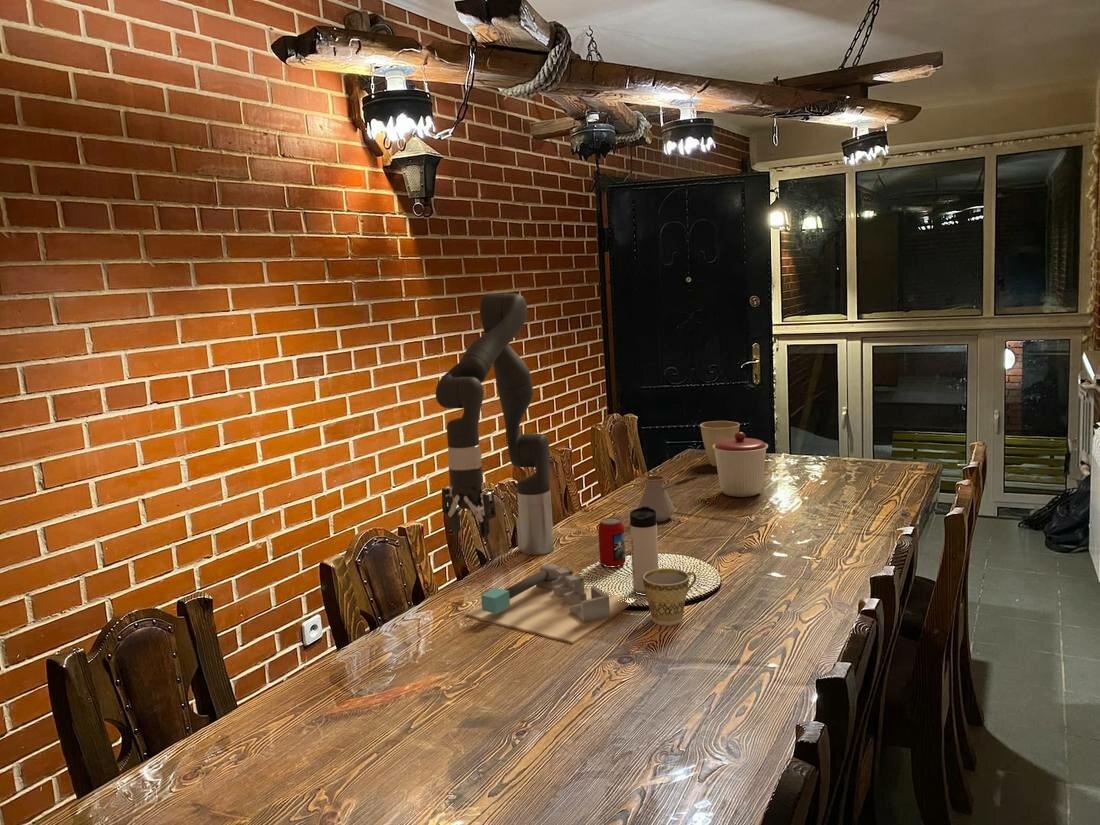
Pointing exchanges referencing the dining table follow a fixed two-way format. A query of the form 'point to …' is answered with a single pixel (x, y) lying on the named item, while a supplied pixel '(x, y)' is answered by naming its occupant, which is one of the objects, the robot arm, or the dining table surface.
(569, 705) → the dining table surface
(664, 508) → the coffee pot
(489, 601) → the cable arm
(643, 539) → the travel mug
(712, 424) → the plant pot
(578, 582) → the clip
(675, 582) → the ceramic cup
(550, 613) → the board
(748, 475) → the canister
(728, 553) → the dining table surface
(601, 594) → the end holder
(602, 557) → the beverage can
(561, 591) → the clip
